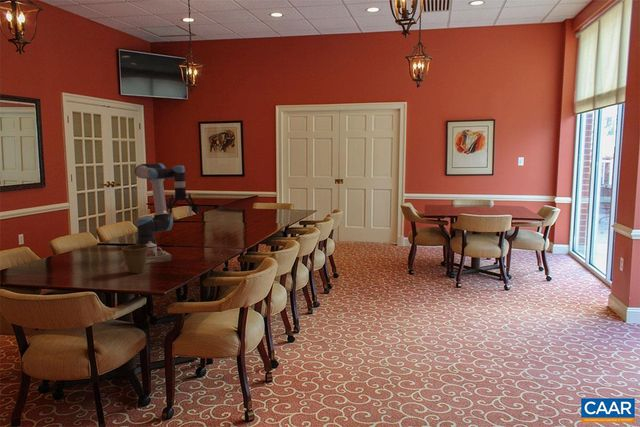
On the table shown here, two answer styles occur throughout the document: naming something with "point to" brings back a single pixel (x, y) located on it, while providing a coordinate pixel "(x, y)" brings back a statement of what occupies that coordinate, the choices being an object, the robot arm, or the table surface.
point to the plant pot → (135, 257)
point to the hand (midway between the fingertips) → (181, 216)
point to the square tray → (159, 257)
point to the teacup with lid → (152, 249)
